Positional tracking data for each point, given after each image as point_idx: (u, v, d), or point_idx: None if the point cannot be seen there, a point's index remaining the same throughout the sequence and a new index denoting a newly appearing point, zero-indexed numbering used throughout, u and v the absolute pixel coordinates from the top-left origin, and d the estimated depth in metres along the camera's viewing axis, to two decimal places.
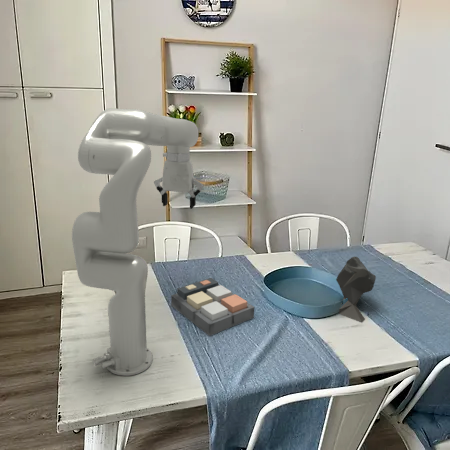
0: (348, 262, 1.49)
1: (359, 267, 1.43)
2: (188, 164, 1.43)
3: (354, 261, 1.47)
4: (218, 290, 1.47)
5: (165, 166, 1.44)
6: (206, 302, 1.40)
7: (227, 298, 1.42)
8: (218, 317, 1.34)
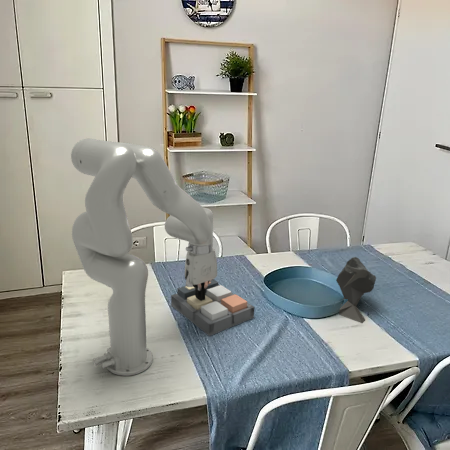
0: (348, 263, 1.48)
1: (359, 268, 1.42)
2: (214, 251, 1.38)
3: (354, 262, 1.47)
4: (218, 290, 1.47)
5: (195, 261, 1.33)
6: (206, 304, 1.40)
7: (227, 298, 1.42)
8: (218, 317, 1.34)
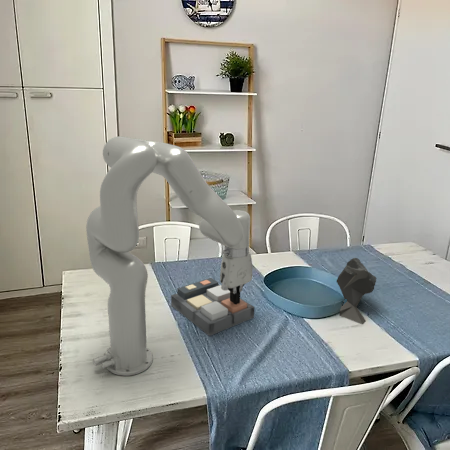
0: (348, 263, 1.48)
1: (360, 268, 1.42)
2: (250, 254, 1.36)
3: (354, 262, 1.46)
4: (218, 290, 1.47)
5: (232, 264, 1.32)
6: None
7: (227, 300, 1.42)
8: (218, 317, 1.34)
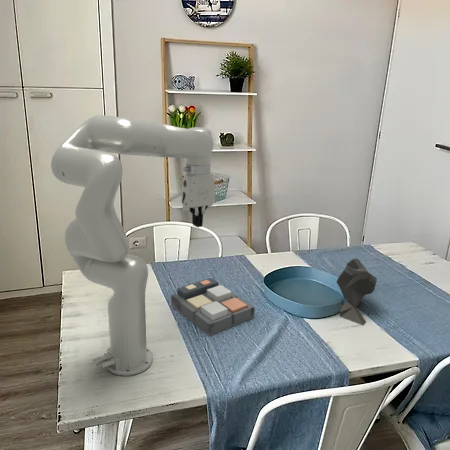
0: (349, 264, 1.47)
1: (360, 269, 1.41)
2: (212, 174, 1.34)
3: (355, 263, 1.45)
4: (218, 290, 1.47)
5: (192, 181, 1.30)
6: None
7: (227, 301, 1.42)
8: (218, 317, 1.34)
